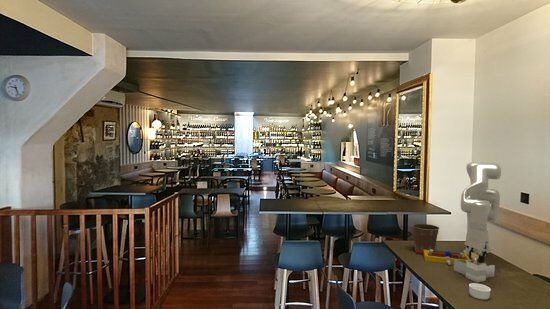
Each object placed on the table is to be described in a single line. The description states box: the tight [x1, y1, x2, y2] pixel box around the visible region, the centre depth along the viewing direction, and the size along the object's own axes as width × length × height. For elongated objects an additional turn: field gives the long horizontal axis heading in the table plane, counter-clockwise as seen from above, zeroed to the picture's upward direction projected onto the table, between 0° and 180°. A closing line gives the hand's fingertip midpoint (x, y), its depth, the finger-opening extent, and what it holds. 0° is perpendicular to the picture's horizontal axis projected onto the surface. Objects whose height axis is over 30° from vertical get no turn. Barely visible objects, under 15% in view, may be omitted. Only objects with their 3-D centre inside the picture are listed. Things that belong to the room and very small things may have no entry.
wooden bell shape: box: [471, 251, 480, 264], centre depth 185 cm, size 5×5×11 cm
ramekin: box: [468, 282, 492, 300], centre depth 166 cm, size 9×9×4 cm
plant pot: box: [411, 223, 440, 252], centre depth 231 cm, size 16×16×16 cm
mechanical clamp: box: [415, 249, 472, 266], centre depth 213 cm, size 18×6×30 cm
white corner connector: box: [453, 259, 496, 283], centre depth 192 cm, size 16×16×9 cm
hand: (476, 260), depth 185 cm, fingers closed on wooden bell shape, 5 cm apart
